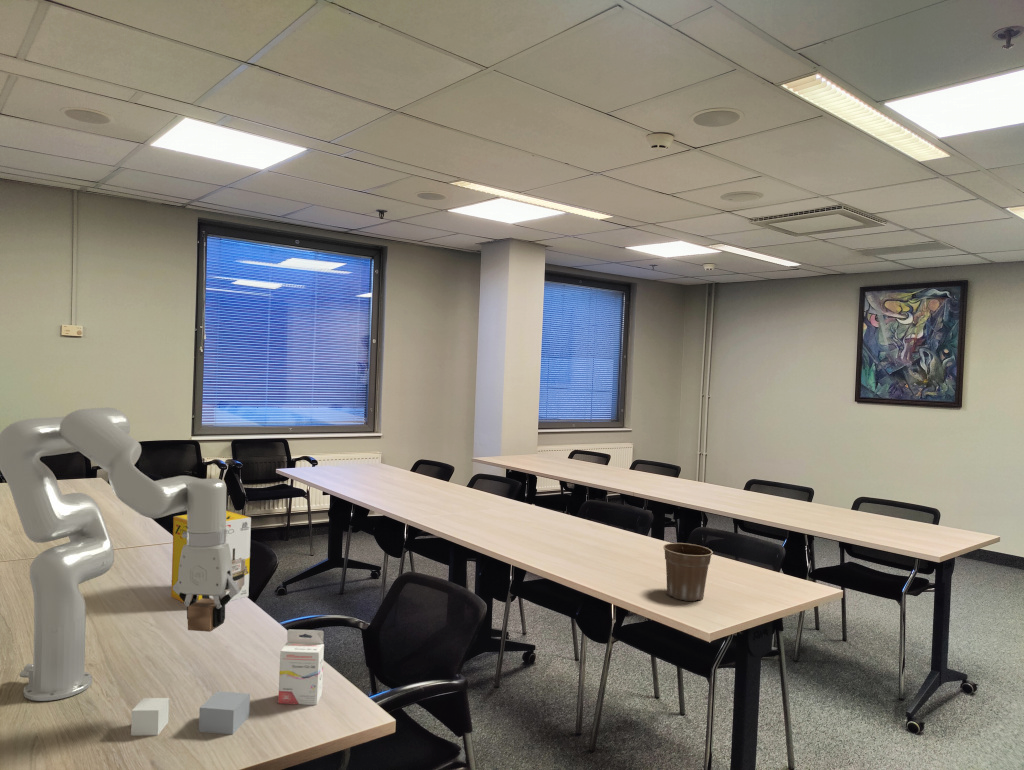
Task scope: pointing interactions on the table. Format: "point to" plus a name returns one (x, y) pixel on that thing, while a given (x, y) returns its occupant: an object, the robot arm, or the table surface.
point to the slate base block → (224, 712)
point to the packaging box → (238, 544)
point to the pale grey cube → (150, 716)
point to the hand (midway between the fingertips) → (206, 623)
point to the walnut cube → (201, 615)
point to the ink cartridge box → (301, 668)
